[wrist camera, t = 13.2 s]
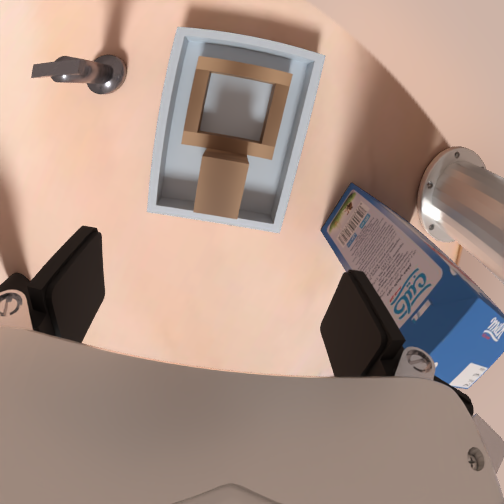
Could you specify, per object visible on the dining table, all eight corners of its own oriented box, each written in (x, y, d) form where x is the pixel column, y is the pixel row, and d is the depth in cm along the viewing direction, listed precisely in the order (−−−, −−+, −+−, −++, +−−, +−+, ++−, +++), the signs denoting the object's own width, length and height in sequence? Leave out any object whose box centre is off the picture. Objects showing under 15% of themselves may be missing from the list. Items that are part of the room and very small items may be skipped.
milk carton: (410, 223, 32) (519, 333, 14) (381, 263, 34) (468, 389, 17) (350, 181, 29) (479, 297, 11) (319, 229, 31) (404, 379, 14)
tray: (316, 60, 23) (325, 55, 20) (275, 220, 31) (279, 233, 28) (183, 34, 21) (177, 26, 18) (154, 201, 29) (147, 212, 26)
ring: (288, 75, 23) (303, 69, 18) (258, 200, 29) (265, 224, 23) (201, 59, 22) (192, 47, 16) (177, 186, 27) (165, 207, 22)
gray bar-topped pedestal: (131, 55, 21) (84, 38, 12) (123, 94, 23) (73, 95, 14) (93, 56, 20) (37, 45, 12) (86, 93, 22) (28, 97, 14)
